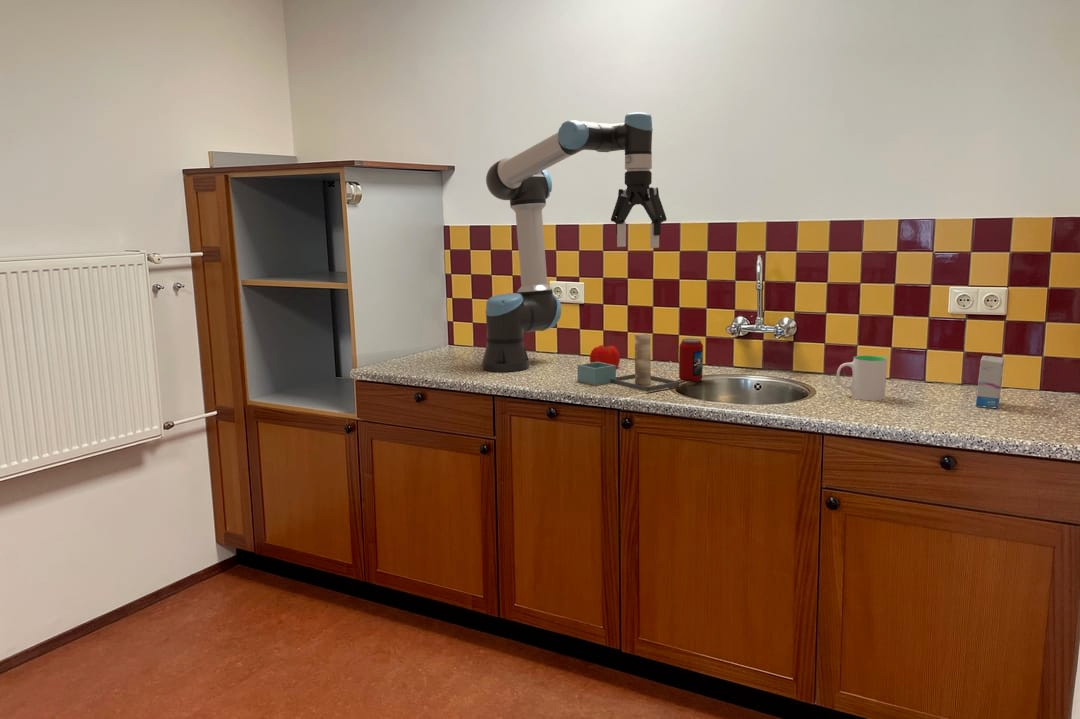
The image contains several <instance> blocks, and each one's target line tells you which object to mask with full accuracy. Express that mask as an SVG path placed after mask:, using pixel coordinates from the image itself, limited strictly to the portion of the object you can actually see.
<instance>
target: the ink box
mask: <svg viewBox="0 0 1080 719" xmlns="http://www.w3.org/2000/svg"><path fill="white" fill-rule="evenodd" d="M1004 363H1005V358H1004V357H1001V356H1000V357H999V356H992V355H982V356H981V359H980V365H979V373H978V381H977V390H976V401H975V407H976V406H986V407H996V408H997V407H998V408H999V404H1000V399H1001V391H1002V383H1003V374H1004V365H1005V364H1004ZM998 408H997V409H998Z"/></svg>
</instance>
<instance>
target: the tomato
mask: <svg viewBox="0 0 1080 719" xmlns="http://www.w3.org/2000/svg"><path fill="white" fill-rule="evenodd" d="M620 356H621V354H620V352H619V350H618V349H617V347H616V346H615V345H605V346H604V345H603V344H601V345H598V346H595V347H594V348H593V349H592V350H591V352H590V354H589V363H593V362H602V363H606V364H611V365H616V369H617V368H618V367H619V365H620V363H621V357H620Z"/></svg>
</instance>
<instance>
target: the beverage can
mask: <svg viewBox="0 0 1080 719" xmlns="http://www.w3.org/2000/svg"><path fill="white" fill-rule="evenodd" d="M678 351H679V352H678V353H679V354H678V355H679V356H678V358H679V359H678V361H679V362H678V378H679V379H680V380H681V381H684V382H690V383H698V382H700V381H701V380H702V379H703V373H704V372H703V370H704V368H703V366H704V345H703V342H702V341H701V339H698V338H683V339H681V342H680V344H679V350H678Z"/></svg>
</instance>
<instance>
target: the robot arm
mask: <svg viewBox="0 0 1080 719" xmlns="http://www.w3.org/2000/svg"><path fill="white" fill-rule="evenodd" d="M652 118H653V117H652V115H651V114H650V113H648V112H631V113H627V114H625V117H624V121H623V122H618V123H606V122H605V123H604V122H603V123H602V122H592V121H591V122H590V121H583V120H576V119H575V120H567V121H564V122H563V123H561V125H560V126H559V128H558V131H557V132H556V133H555V134H552V135H551V136H549V137H547V138H545V139H543V140H541V141H540V142H538V143H536V144H534V145H532V146H531V147H529V148H527V149H525V150H522V151H521V152H520V153H517V154H516V155H514V156H513V157H505V158H502V159H499V161H497V162H495V163H494V164H493V165H491V166H490V167H489V169H488V170H487V172H486V176H485V183H486V186H487V189H488V191H489V193H490V194H491V195H492V196H493V197H495V198H496V199H497V200H502V201H509V207H510V209H512V210H513V212H515V222H516V224H515V225H516V234H517V246H518V258H519V259H518V260H519V271H520V272H519V273H520V284H521V286H520V287H519V288H518V290H517V292H516V293H515V292H510V293H503V294H501V293H500V294H496V295H493V296H491V297H489V298H488V299H487V300H486V303H485V304H486V307H485V319H486V321H485V322H486V346H485V351H484V353H483V358H482V359H481V360H482V362H481V367H482V368H481V369H482V370H484V371H489V372H496V373H498V372H499V373H503V372H504V373H508V372H519V371H523V370H524V371H525V370H527V369H529V368H530V360H529V357H528V352H527V351H526V347H525V345H524V334H525V333H531V332H532V333H533V332H541V331H546V330H549V329H552V328H554V327H555V326H557V323H558V322H559V321H560V319H561V315H562V304H561V301H560V300H559V299H558V298H559V297H558V296H556V295H555V294H554V293H553V292H554V291H553V288H552V287H551V286H550V285H549V283H548V275H547V274H548V273H547V264H546V263H547V261H546V259H547V258H546V251H545V250H546V249H545V248H546V247H545V235H544V234H545V233H544V222H543V209H544V208H545V207H546V206H547V201H546V200H547V199H548V198H550V195H551V192H552V189H553V181H552V178H551V175H550V173H549V171H548V170H547V169H549V168H550V167H553V166H554V165H556V164H558V163H560V162H562V161H564V160H565V159H567V158H570V157H571V156H574V155H576V154H578V153H579V152H582V151H595V152H598V153H610V152H616V151H617V152H619V151H624V169H625V170H626V171H625V172H624V185H625V186H626V188H619V189H618V193H617V194H618V195H617V199H616V202H615V205H614V208H613V211H612V214H611V217H610V222H614V224H615V226H616V227H615V234H616V239H617V241H616V243H617V244H616V247H617V248H620V247H621V248H622V247H626V246H627V224H626V219H627V218H628V216H629V214H630V213H631V211H632V209H633V207H634V206H635V205H636V206H637V205H641V206H642V207H643V208H644V210H645V212H646V213H647V215H648V217H649V218H650V221H651V223H650V224H649V229H650V230H649V233H650V234H649V248H650V249H655V248H656V249H657V248H660V236H661V230H662V229H661V227H662V226H661V224H662V223H664V222H667V219H668V218H667V215H666V212H665V210H664V209H665V208H664V207H663V204H662V202H661V198H660V193H659V187H655V186H653V187H650V185H652V178H653V177H652V175H653V174H652V171H651V169H652V168H653V163H652V162H653V159H652V158H653V157H652V156H653V153H652V151H653V150H652V144H653V131H654V130H653V119H652Z"/></svg>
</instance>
